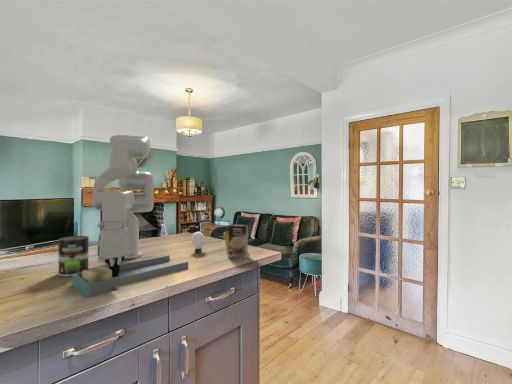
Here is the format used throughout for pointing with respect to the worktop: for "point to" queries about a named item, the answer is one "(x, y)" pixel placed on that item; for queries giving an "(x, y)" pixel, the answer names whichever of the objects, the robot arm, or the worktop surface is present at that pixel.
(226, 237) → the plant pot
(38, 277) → the worktop surface
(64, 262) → the coffee can
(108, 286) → the box
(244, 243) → the coffee box
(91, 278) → the maple block
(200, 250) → the light bulb
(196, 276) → the worktop surface
